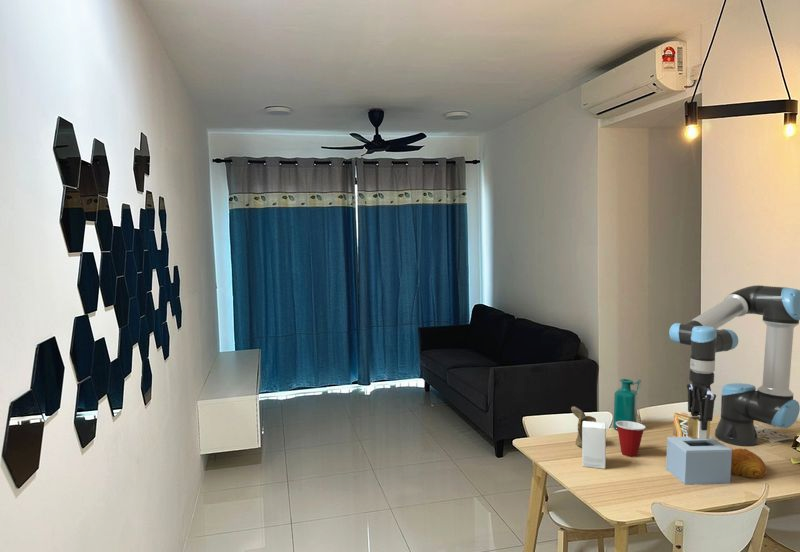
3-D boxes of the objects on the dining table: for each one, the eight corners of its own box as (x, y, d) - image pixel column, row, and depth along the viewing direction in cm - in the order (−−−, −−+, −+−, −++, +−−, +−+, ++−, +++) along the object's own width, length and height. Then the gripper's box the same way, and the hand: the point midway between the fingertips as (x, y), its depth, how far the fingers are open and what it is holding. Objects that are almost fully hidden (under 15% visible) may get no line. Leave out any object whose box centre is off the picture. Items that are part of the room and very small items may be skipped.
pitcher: (612, 429, 237) (613, 380, 235) (616, 423, 244) (618, 375, 242) (636, 434, 232) (638, 383, 230) (640, 428, 239) (641, 379, 237)
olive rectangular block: (704, 435, 193) (705, 416, 192) (709, 438, 190) (710, 419, 189) (687, 435, 192) (688, 416, 192) (692, 439, 189) (693, 419, 189)
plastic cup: (646, 452, 213) (648, 422, 212) (641, 462, 204) (643, 431, 203) (617, 446, 219) (618, 417, 218) (611, 455, 210) (612, 425, 209)
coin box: (708, 468, 199) (710, 436, 197) (730, 483, 187) (731, 449, 186) (666, 469, 198) (667, 437, 197) (684, 484, 186) (686, 450, 185)
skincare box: (605, 462, 203) (606, 422, 202) (605, 470, 197) (606, 428, 196) (581, 459, 206) (582, 419, 205) (581, 466, 200) (582, 425, 199)
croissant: (754, 468, 203) (755, 447, 203) (772, 481, 188) (772, 458, 188) (711, 463, 207) (712, 442, 207) (725, 475, 192) (726, 453, 192)
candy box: (700, 456, 209) (702, 417, 208) (694, 458, 207) (696, 419, 205) (677, 448, 216) (679, 411, 215) (671, 451, 214) (673, 413, 213)
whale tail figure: (563, 446, 218) (564, 403, 217) (584, 439, 226) (586, 397, 225) (582, 454, 211) (583, 409, 210) (603, 446, 219) (604, 402, 217)
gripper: (678, 365, 197) (675, 428, 199) (705, 377, 181) (702, 445, 183) (698, 365, 197) (695, 427, 199) (727, 376, 181) (723, 445, 183)
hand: (698, 436), depth 191 cm, fingers closed on olive rectangular block, 3 cm apart
